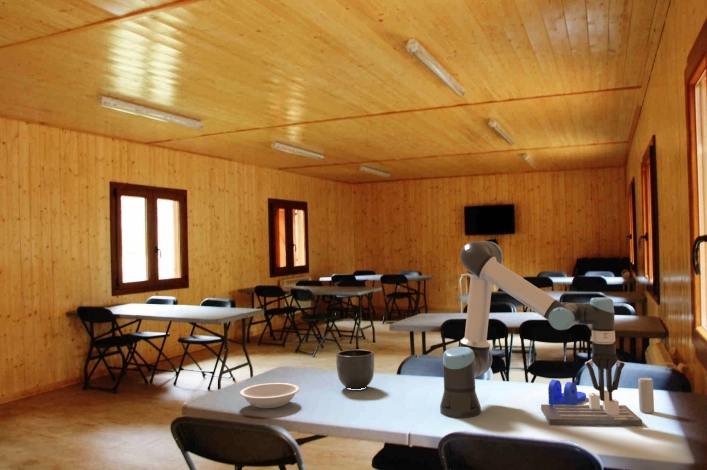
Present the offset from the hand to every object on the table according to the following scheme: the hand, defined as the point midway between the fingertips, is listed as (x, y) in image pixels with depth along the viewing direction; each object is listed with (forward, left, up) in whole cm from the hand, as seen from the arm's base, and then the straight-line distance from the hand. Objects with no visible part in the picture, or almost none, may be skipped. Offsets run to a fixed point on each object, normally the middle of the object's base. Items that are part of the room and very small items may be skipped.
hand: (606, 409), depth 200 cm
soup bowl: (-126, +14, -4) cm, 127 cm away
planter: (-95, +43, -4) cm, 104 cm away
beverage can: (+17, +12, -4) cm, 21 cm away
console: (-5, +4, -4) cm, 8 cm away
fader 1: (-2, +8, -2) cm, 8 cm away
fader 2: (+2, 0, -2) cm, 3 cm away
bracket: (-7, +26, -4) cm, 27 cm away
